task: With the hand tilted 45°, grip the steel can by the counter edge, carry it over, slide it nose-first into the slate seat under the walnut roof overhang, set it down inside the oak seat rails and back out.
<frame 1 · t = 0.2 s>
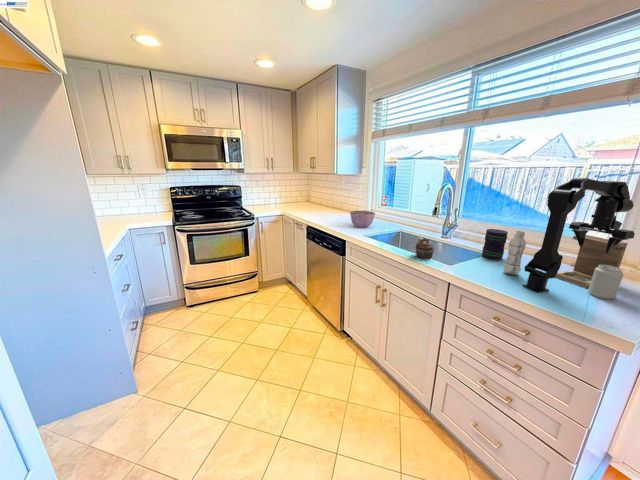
hand: (593, 249, 112), 15 cm above the worktop, tool pointing down, fingers open, 9 cm apart
storage jar: (491, 257, 147), on the worktop
plastic bottle: (510, 274, 124), on the worktop
cupcake: (423, 257, 145), on the worktop
bowl of food: (361, 226, 216), on the worktop
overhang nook: (577, 280, 118), on the worktop
can: (600, 296, 104), on the worktop
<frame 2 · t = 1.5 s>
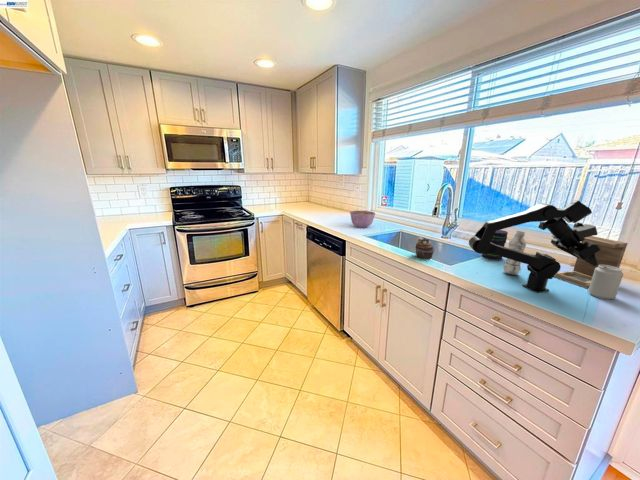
hand: (587, 261, 102), 13 cm above the worktop, tool tilted 45°, fingers open, 9 cm apart
nothing on the worktop moved.
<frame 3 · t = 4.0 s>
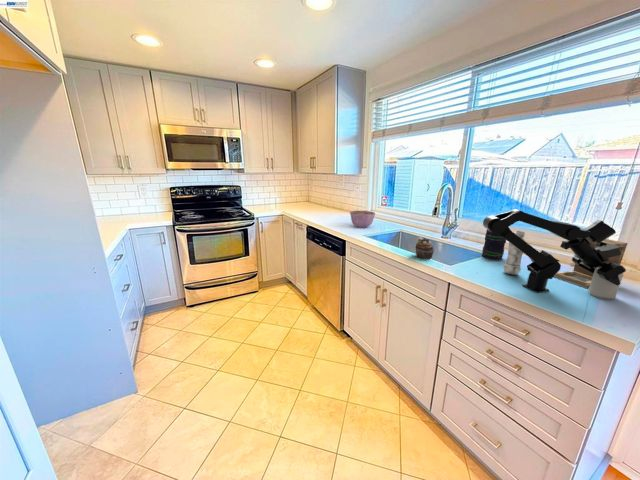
hand: (610, 280, 101), 7 cm above the worktop, tool tilted 45°, fingers closed on can, 7 cm apart
can: (600, 296, 104), on the worktop, touching gripper
everything else where it was.
when the fingers open (8 cm above the worktop, at t = 9.3 s): can stays where it is, resting on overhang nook.
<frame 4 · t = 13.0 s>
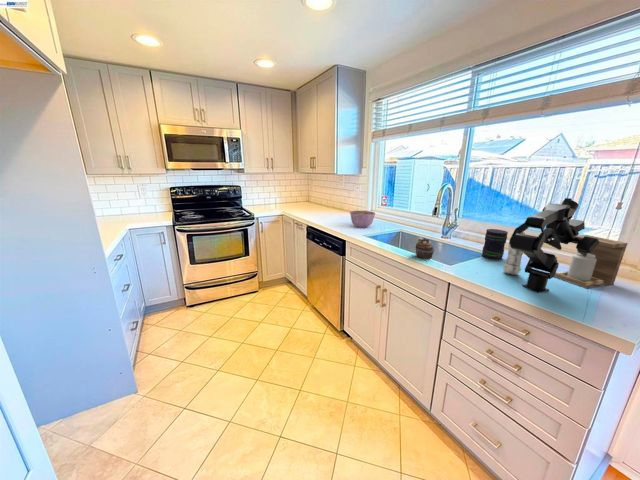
hand: (572, 252, 112), 14 cm above the worktop, tool tilted 45°, fingers open, 9 cm apart
can: (577, 279, 118), resting on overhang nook
everything else where it was.
at the end: can 0.2 cm off-centre on the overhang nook, point 0.2 cm above the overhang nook's base; can tilted 0°; the gripper is holding nothing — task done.
